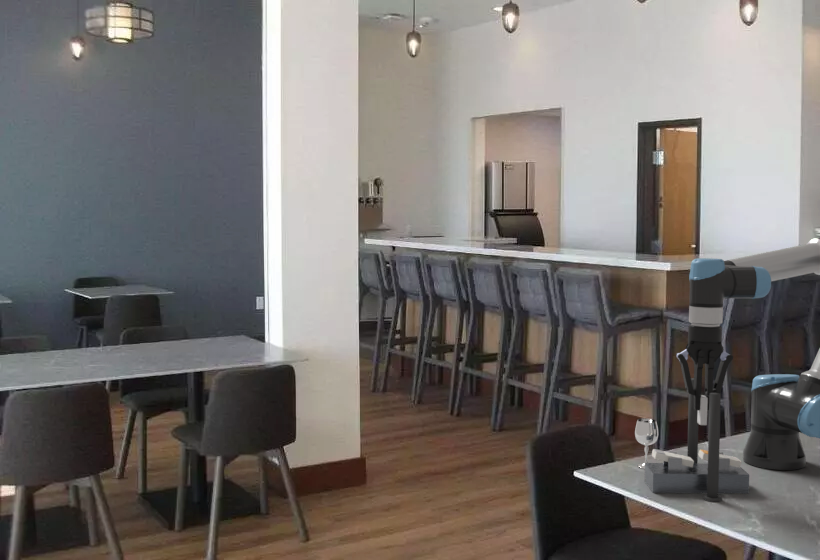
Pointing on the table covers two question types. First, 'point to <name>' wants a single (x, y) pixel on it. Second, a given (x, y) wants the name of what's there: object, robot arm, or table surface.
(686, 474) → the panel
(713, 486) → the post near
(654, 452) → the paddle
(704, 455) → the paddle
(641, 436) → the wineglass
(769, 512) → the table surface
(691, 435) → the post far
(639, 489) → the table surface
